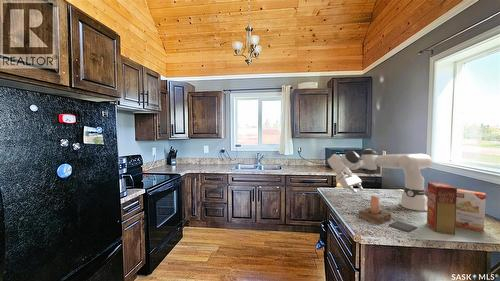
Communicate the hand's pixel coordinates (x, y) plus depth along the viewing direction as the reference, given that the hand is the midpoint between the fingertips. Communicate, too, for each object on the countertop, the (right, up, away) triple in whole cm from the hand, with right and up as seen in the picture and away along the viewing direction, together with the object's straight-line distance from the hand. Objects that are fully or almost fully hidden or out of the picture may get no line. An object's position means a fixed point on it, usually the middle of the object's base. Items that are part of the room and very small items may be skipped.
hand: (358, 191), depth 145 cm
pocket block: (+6, -16, -7) cm, 18 cm away
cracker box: (+53, -17, -18) cm, 58 cm away
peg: (+6, -16, -7) cm, 18 cm away
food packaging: (+36, -17, -20) cm, 44 cm away
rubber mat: (+16, -16, -18) cm, 29 cm away
